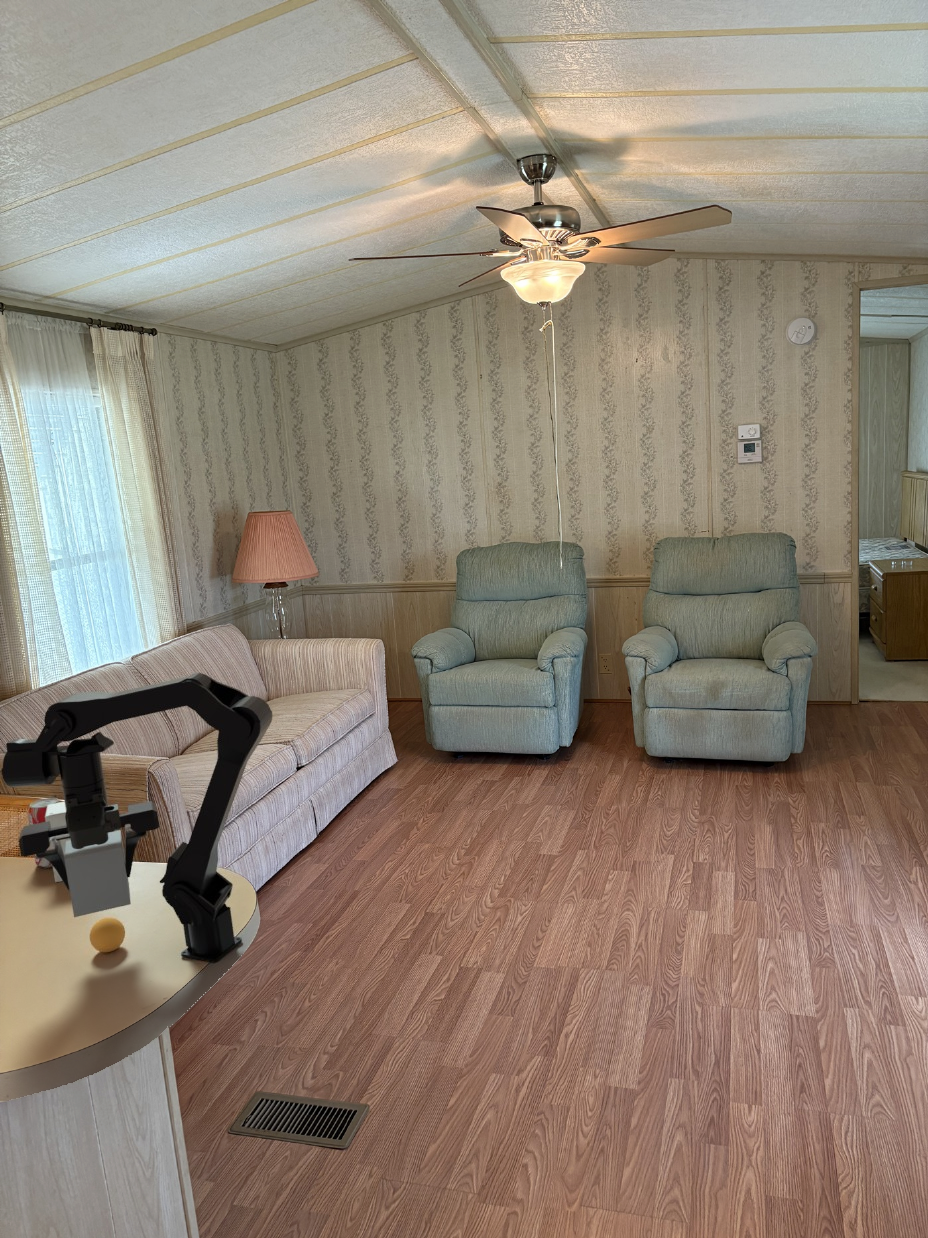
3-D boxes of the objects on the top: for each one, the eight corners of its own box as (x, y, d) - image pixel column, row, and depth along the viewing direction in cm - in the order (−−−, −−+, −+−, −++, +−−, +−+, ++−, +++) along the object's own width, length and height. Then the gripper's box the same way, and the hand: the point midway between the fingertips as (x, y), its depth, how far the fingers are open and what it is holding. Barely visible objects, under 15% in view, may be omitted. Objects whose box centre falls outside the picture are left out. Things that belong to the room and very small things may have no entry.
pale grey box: (129, 884, 146) (120, 829, 144) (130, 904, 139) (121, 847, 137) (75, 896, 143) (66, 841, 142) (74, 917, 136) (64, 859, 135)
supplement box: (98, 874, 173) (87, 808, 171) (54, 883, 171) (43, 816, 169) (99, 860, 180) (89, 796, 178) (57, 868, 177) (46, 803, 175)
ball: (131, 925, 142) (133, 932, 146) (103, 907, 142) (106, 915, 147) (108, 955, 140) (111, 961, 144) (80, 937, 140) (84, 943, 144)
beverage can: (58, 870, 177) (48, 808, 175) (29, 870, 178) (18, 808, 176) (78, 856, 183) (68, 796, 181) (49, 856, 184) (39, 796, 182)
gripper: (7, 812, 127) (27, 921, 129) (153, 783, 133) (169, 888, 136) (14, 788, 137) (32, 890, 140) (149, 763, 144) (164, 861, 146)
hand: (99, 883), depth 140 cm, fingers closed on pale grey box, 8 cm apart
